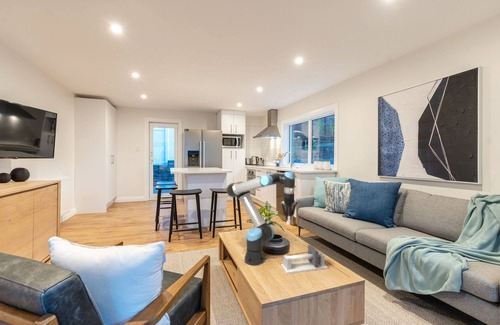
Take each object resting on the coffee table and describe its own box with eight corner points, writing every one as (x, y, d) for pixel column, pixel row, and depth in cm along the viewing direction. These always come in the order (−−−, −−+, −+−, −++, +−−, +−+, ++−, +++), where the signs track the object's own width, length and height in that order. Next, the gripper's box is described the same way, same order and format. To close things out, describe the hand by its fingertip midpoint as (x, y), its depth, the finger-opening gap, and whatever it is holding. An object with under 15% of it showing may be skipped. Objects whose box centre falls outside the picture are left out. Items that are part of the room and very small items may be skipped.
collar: (315, 267, 161) (315, 251, 160) (308, 260, 171) (308, 245, 171) (318, 266, 161) (318, 251, 161) (311, 259, 172) (311, 245, 171)
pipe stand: (287, 273, 156) (287, 260, 155) (281, 265, 168) (281, 252, 167) (327, 268, 162) (327, 255, 162) (319, 261, 174) (319, 249, 173)
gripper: (282, 194, 165) (281, 226, 167) (299, 193, 168) (298, 225, 170) (279, 192, 173) (278, 223, 174) (295, 191, 176) (294, 222, 177)
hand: (288, 224), depth 172 cm, fingers closed
